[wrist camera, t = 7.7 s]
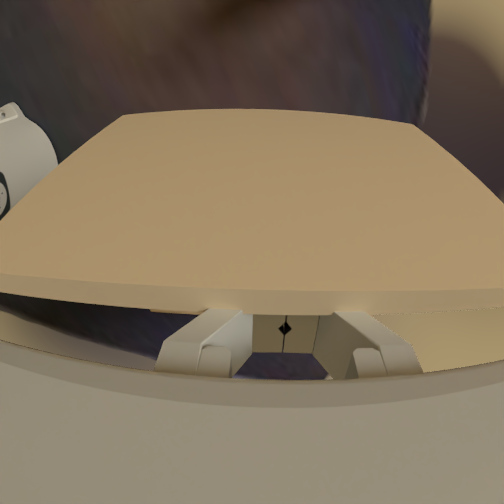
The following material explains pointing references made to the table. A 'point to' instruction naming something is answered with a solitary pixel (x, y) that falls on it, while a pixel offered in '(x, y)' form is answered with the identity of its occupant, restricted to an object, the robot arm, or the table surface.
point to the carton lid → (258, 219)
